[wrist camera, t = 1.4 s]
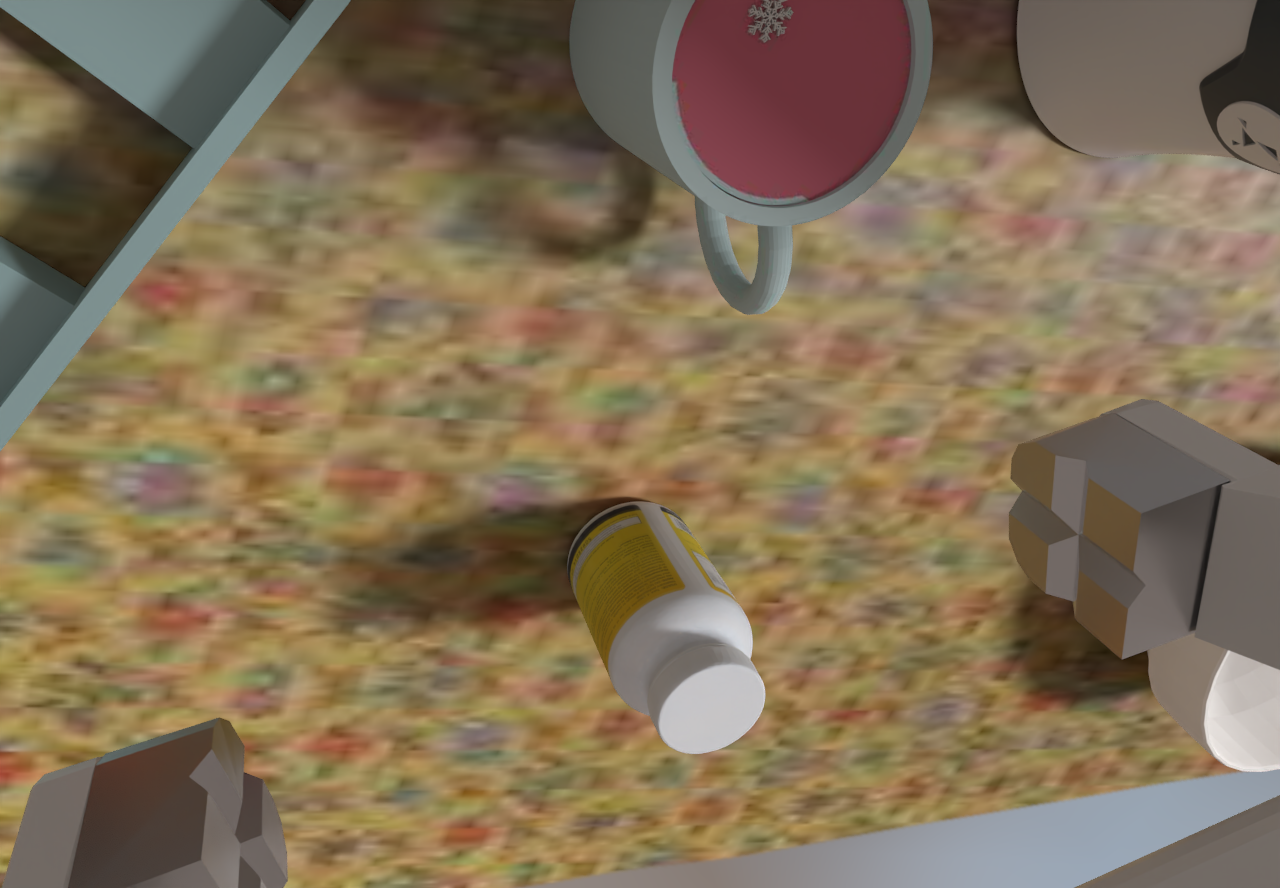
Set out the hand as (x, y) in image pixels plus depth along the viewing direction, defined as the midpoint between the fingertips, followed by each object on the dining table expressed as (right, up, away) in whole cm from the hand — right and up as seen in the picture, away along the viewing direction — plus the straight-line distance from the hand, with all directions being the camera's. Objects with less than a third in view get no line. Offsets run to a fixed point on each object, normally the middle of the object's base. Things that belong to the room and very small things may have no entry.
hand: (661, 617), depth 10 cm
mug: (+2, +15, +29) cm, 33 cm away
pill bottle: (-1, -4, +39) cm, 39 cm away
